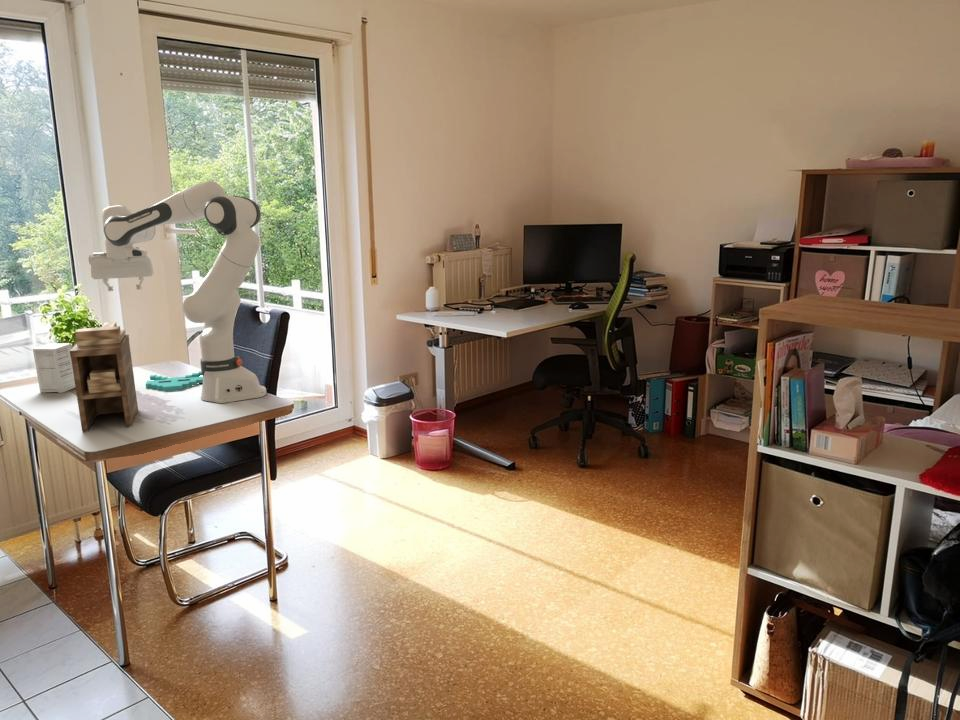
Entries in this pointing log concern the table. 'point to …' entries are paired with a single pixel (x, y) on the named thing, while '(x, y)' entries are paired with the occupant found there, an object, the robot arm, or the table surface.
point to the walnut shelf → (104, 381)
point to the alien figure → (173, 382)
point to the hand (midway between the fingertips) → (124, 290)
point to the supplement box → (54, 367)
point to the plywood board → (109, 341)
